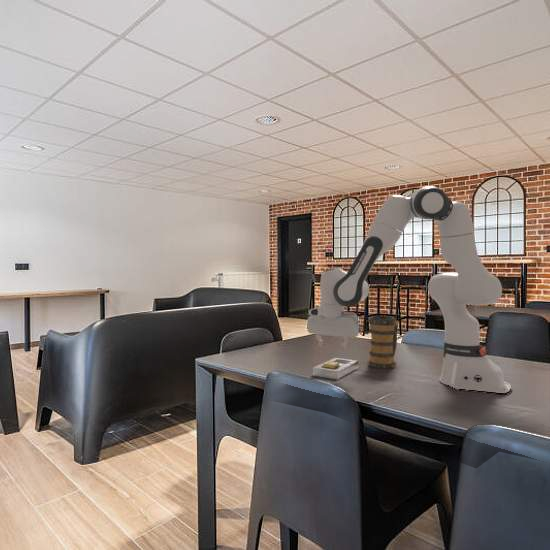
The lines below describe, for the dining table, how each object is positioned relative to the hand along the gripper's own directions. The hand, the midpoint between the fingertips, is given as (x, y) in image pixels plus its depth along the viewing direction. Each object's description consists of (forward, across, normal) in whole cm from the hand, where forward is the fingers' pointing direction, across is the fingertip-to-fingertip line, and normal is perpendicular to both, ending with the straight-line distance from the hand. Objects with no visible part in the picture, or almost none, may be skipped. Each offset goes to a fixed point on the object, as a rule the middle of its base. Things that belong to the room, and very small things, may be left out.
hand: (332, 347), depth 156 cm
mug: (+11, -11, -26) cm, 30 cm away
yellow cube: (+10, 0, +2) cm, 10 cm away
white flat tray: (+10, 0, -3) cm, 11 cm away
